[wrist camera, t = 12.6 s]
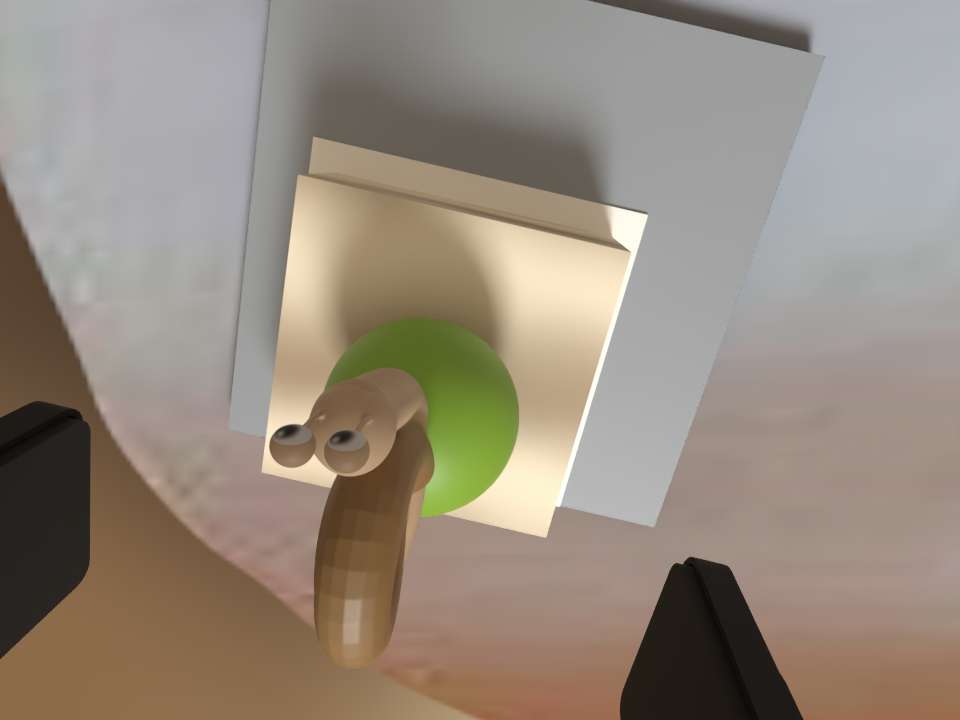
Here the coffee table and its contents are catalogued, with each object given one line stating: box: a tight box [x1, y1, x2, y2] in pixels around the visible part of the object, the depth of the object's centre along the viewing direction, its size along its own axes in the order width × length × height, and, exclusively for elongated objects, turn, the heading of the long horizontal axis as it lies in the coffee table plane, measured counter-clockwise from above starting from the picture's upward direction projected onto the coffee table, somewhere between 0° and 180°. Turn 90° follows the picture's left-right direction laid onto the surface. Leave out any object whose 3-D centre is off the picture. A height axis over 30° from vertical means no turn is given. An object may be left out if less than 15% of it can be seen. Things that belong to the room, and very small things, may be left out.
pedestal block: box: [262, 173, 631, 537], centre depth 21 cm, size 10×10×4 cm
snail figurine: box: [269, 318, 519, 668], centre depth 14 cm, size 5×6×12 cm
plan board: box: [228, 0, 825, 527], centre depth 23 cm, size 18×18×1 cm
